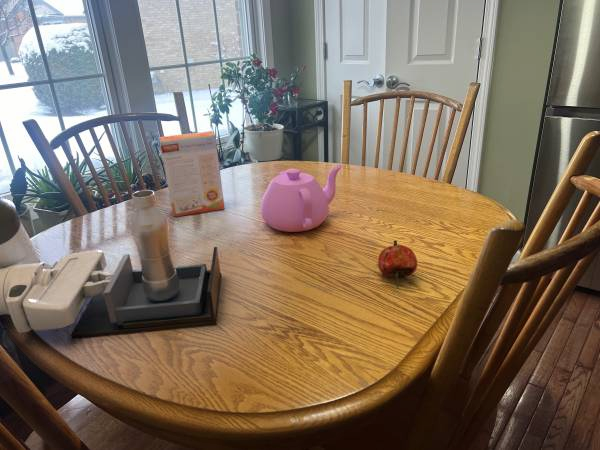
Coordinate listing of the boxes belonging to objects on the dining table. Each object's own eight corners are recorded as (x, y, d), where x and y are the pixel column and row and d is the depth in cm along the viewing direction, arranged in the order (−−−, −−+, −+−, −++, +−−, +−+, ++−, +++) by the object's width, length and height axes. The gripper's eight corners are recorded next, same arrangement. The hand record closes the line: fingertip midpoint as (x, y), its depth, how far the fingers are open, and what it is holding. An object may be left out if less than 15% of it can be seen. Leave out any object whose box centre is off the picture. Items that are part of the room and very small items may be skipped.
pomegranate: (417, 296, 84) (419, 248, 88) (414, 282, 78) (416, 232, 82) (379, 294, 86) (382, 248, 91) (373, 280, 80) (377, 232, 85)
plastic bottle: (153, 310, 76) (130, 204, 68) (139, 294, 81) (116, 193, 73) (187, 296, 80) (170, 194, 71) (172, 281, 85) (154, 184, 76)
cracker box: (221, 202, 126) (212, 130, 117) (225, 209, 121) (216, 134, 112) (171, 209, 122) (158, 135, 113) (173, 217, 117) (159, 140, 108)
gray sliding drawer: (111, 326, 74) (103, 293, 71) (130, 284, 86) (123, 254, 83) (201, 317, 75) (196, 284, 72) (208, 277, 87) (203, 247, 84)
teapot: (361, 229, 106) (363, 175, 100) (276, 246, 100) (272, 189, 94) (325, 199, 125) (325, 152, 119) (252, 212, 118) (247, 162, 113)
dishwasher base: (71, 339, 72) (60, 305, 69) (100, 286, 87) (92, 256, 84) (216, 325, 74) (211, 291, 71) (221, 276, 89) (217, 246, 86)
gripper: (62, 273, 87) (133, 267, 89) (14, 340, 69) (104, 331, 70) (54, 245, 85) (127, 239, 86) (1, 306, 66) (95, 298, 68)
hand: (116, 281), depth 78 cm, fingers closed, pressing on gray sliding drawer
